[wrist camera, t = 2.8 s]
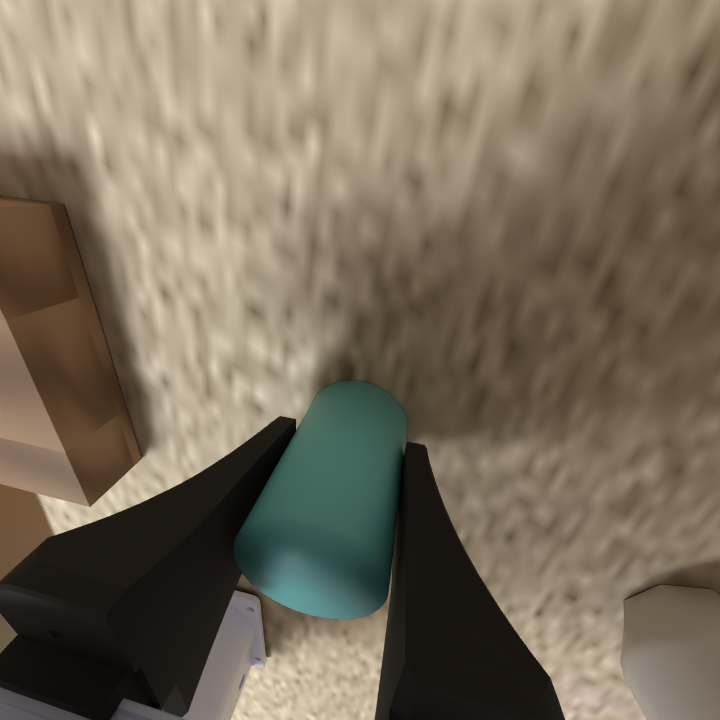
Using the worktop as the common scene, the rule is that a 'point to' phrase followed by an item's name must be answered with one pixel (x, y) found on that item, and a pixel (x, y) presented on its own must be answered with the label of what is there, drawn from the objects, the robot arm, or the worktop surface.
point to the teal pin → (330, 507)
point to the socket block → (55, 365)
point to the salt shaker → (673, 652)
